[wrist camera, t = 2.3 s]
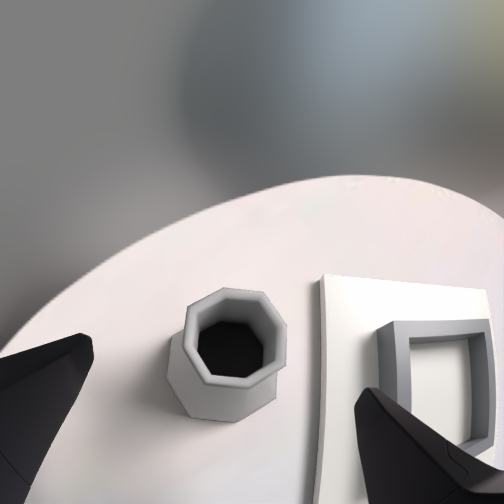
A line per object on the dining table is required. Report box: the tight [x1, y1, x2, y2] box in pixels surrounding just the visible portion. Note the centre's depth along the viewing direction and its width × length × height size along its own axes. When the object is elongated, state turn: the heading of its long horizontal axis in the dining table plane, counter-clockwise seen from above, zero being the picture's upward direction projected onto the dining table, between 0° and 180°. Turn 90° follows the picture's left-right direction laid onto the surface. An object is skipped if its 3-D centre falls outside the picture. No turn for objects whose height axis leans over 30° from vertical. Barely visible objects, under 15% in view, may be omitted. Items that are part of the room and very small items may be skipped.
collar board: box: [313, 274, 498, 504], centre depth 15 cm, size 20×20×3 cm
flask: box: [166, 287, 287, 422], centre depth 12 cm, size 7×7×10 cm
